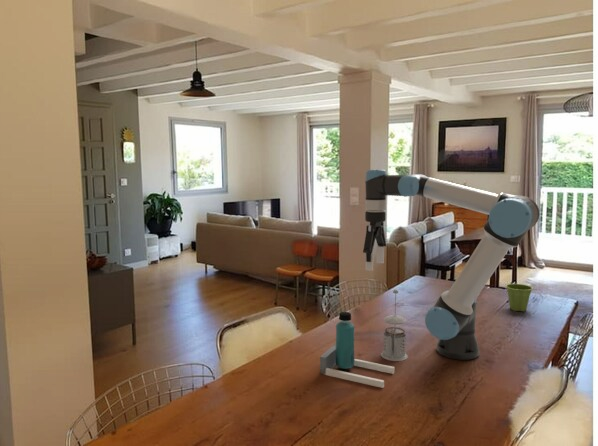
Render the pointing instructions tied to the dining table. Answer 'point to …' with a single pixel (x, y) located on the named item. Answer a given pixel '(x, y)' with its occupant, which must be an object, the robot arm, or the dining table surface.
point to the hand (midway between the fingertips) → (374, 266)
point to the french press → (394, 338)
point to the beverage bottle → (345, 341)
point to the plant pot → (518, 296)
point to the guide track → (329, 362)
